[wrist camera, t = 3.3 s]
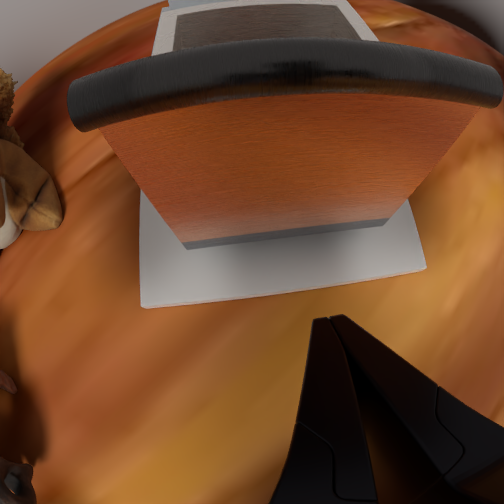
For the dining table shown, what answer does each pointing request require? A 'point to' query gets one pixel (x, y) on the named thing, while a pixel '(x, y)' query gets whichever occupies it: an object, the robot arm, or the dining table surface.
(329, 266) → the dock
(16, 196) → the stuffed squirrel
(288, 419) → the dining table surface
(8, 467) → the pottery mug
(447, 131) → the open bin with handle
